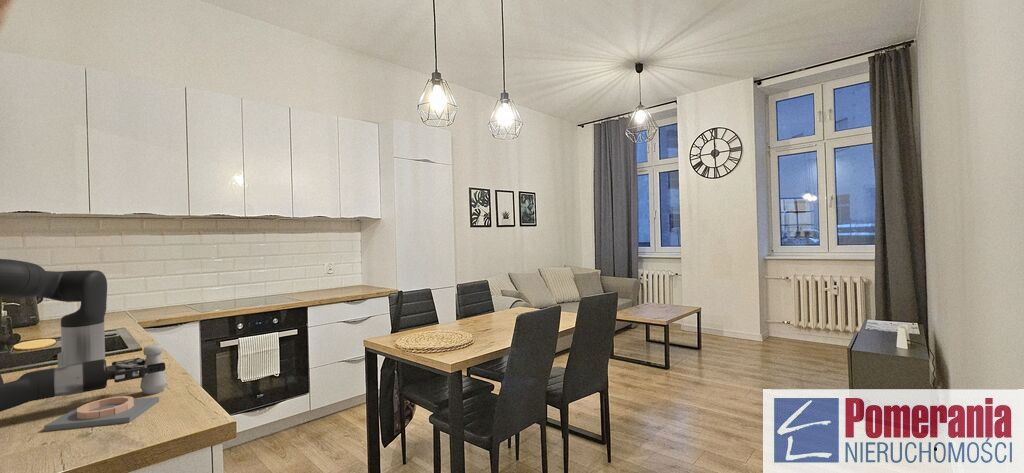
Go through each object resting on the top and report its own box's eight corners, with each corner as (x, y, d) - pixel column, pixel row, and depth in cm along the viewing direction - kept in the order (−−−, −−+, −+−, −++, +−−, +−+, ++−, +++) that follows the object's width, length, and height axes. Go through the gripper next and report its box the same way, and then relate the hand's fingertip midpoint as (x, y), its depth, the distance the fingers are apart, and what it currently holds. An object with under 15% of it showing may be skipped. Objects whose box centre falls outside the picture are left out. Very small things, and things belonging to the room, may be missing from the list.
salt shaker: (151, 396, 117) (150, 348, 117) (134, 395, 119) (133, 347, 118) (172, 388, 123) (171, 343, 123) (156, 387, 124) (155, 342, 124)
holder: (44, 431, 97) (44, 419, 97) (84, 408, 110) (84, 397, 110) (129, 422, 101) (129, 410, 101) (159, 401, 114) (158, 391, 114)
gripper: (80, 369, 106) (166, 354, 117) (80, 357, 116) (159, 345, 127) (81, 399, 106) (167, 382, 117) (81, 385, 116) (160, 370, 127)
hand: (163, 363), depth 122 cm, fingers open, 7 cm apart
